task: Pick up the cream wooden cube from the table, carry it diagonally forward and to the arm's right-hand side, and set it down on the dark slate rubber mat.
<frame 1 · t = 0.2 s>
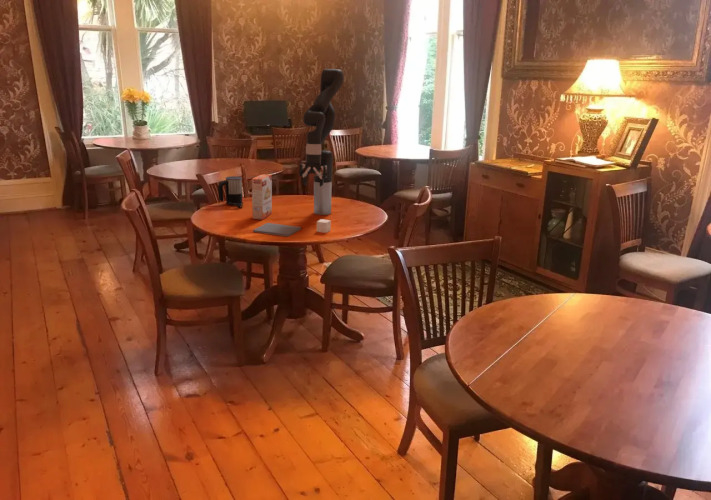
hand: (312, 185, 283), 18 cm above the table, tool pointing down, fingers open, 8 cm apart
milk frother: (235, 205, 313), on the table
slate mat: (277, 230, 268), on the table
cracker box: (262, 216, 292), on the table
cream cube: (323, 231, 269), on the table
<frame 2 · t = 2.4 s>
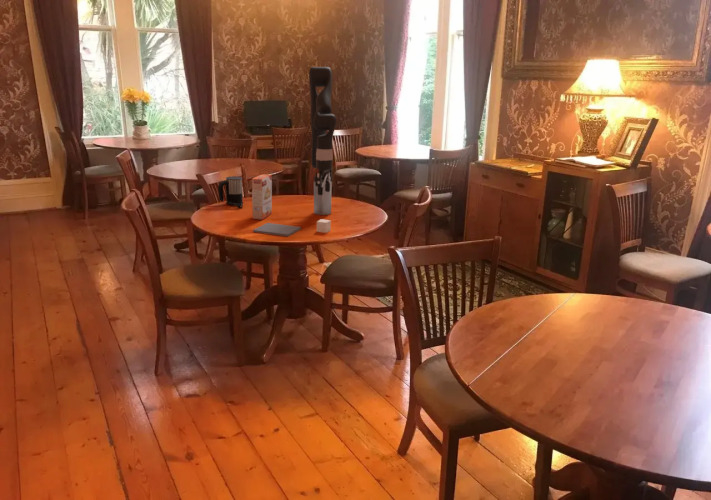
hand: (323, 193, 264), 18 cm above the table, tool pointing down, fingers open, 8 cm apart
nothing on the table moved.
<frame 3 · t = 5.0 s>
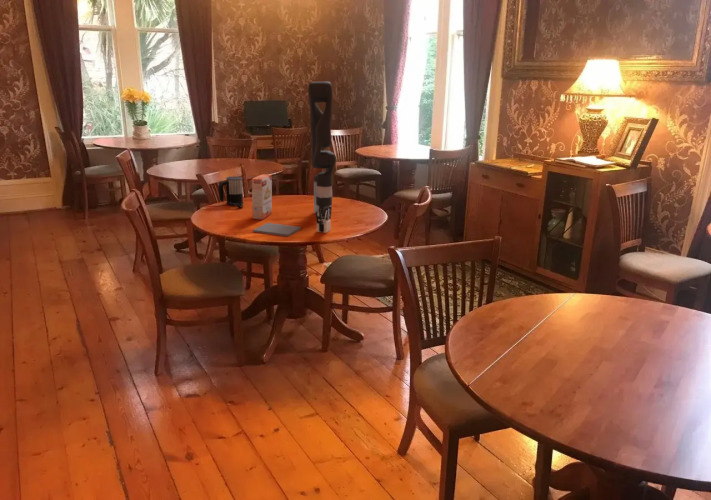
hand: (323, 229, 269), 0 cm above the table, tool pointing down, fingers closed on cream cube, 5 cm apart
cream cube: (323, 230, 269), on the table, touching gripper
everything else where it was.
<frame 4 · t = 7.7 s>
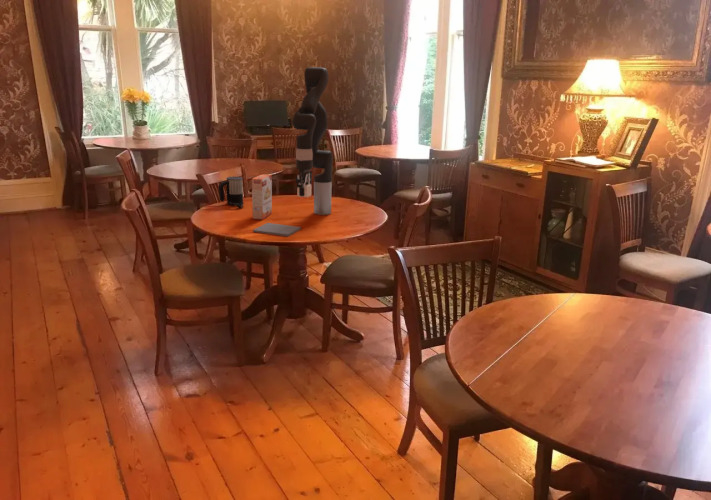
hand: (304, 194, 263), 18 cm above the table, tool pointing down, fingers closed on cream cube, 5 cm apart
cream cube: (304, 195, 263), point 17 cm above the table, touching gripper
everything else where it was.
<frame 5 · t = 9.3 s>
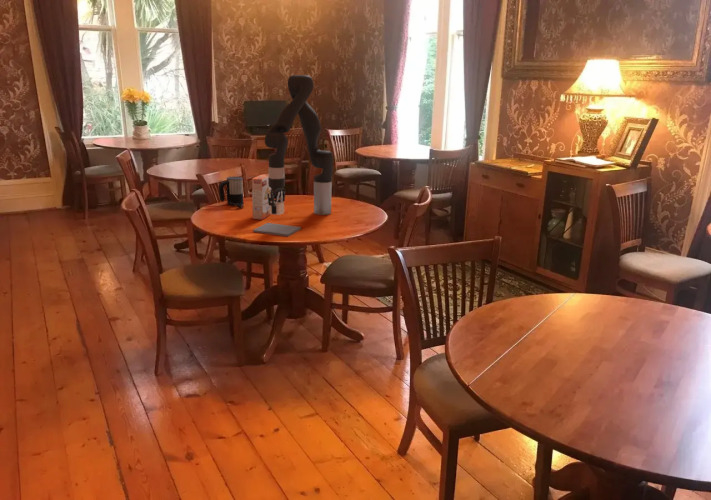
hand: (276, 212, 265), 9 cm above the table, tool pointing down, fingers closed on cream cube, 5 cm apart
cream cube: (276, 213, 265), point 8 cm above the table, touching gripper
everything else where it was.
when the fingers open (2 cm above the table, at t = 10.6 s): cream cube stays where it is, resting on slate mat.
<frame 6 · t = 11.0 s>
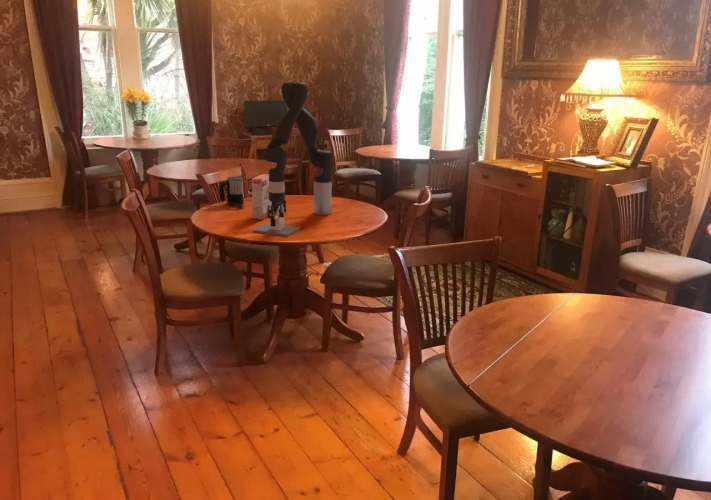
hand: (277, 224, 267), 3 cm above the table, tool pointing down, fingers open, 8 cm apart
cream cube: (277, 228, 267), point 1 cm above the table, touching slate mat
everything else where it was.
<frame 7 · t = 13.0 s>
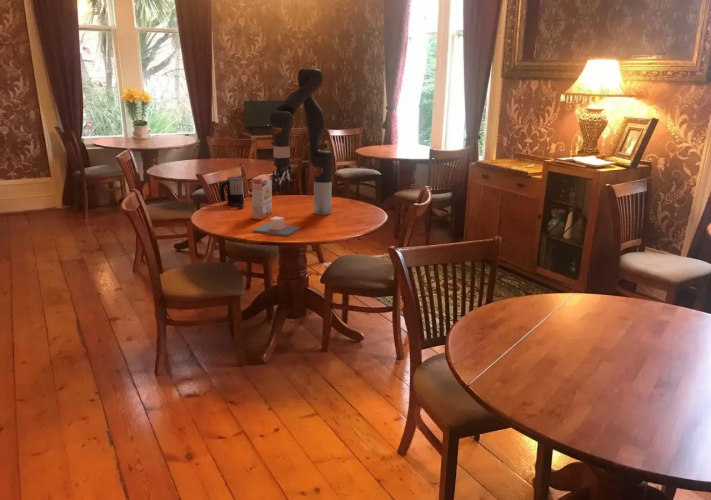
hand: (282, 190, 263), 19 cm above the table, tool pointing down, fingers open, 8 cm apart
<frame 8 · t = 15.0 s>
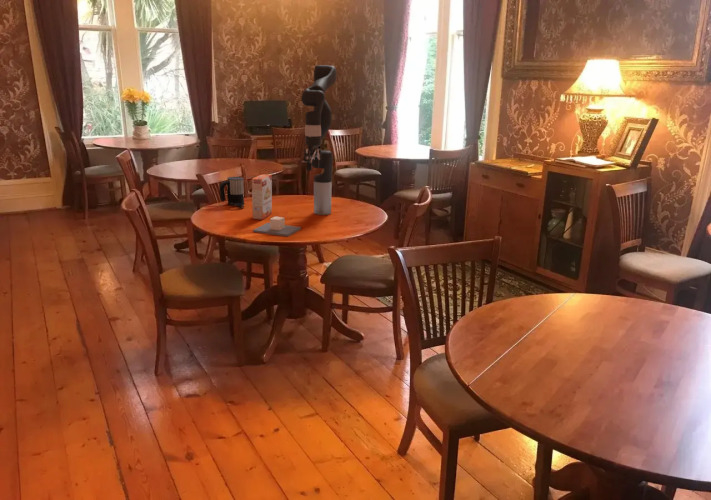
hand: (312, 169, 268), 28 cm above the table, tool pointing down, fingers open, 8 cm apart
at the end: cream cube inside the target area on the slate mat (0.1 cm from its centre), point 1.0 cm above the slate mat's base; cream cube tilted 0°; the gripper is holding nothing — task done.
